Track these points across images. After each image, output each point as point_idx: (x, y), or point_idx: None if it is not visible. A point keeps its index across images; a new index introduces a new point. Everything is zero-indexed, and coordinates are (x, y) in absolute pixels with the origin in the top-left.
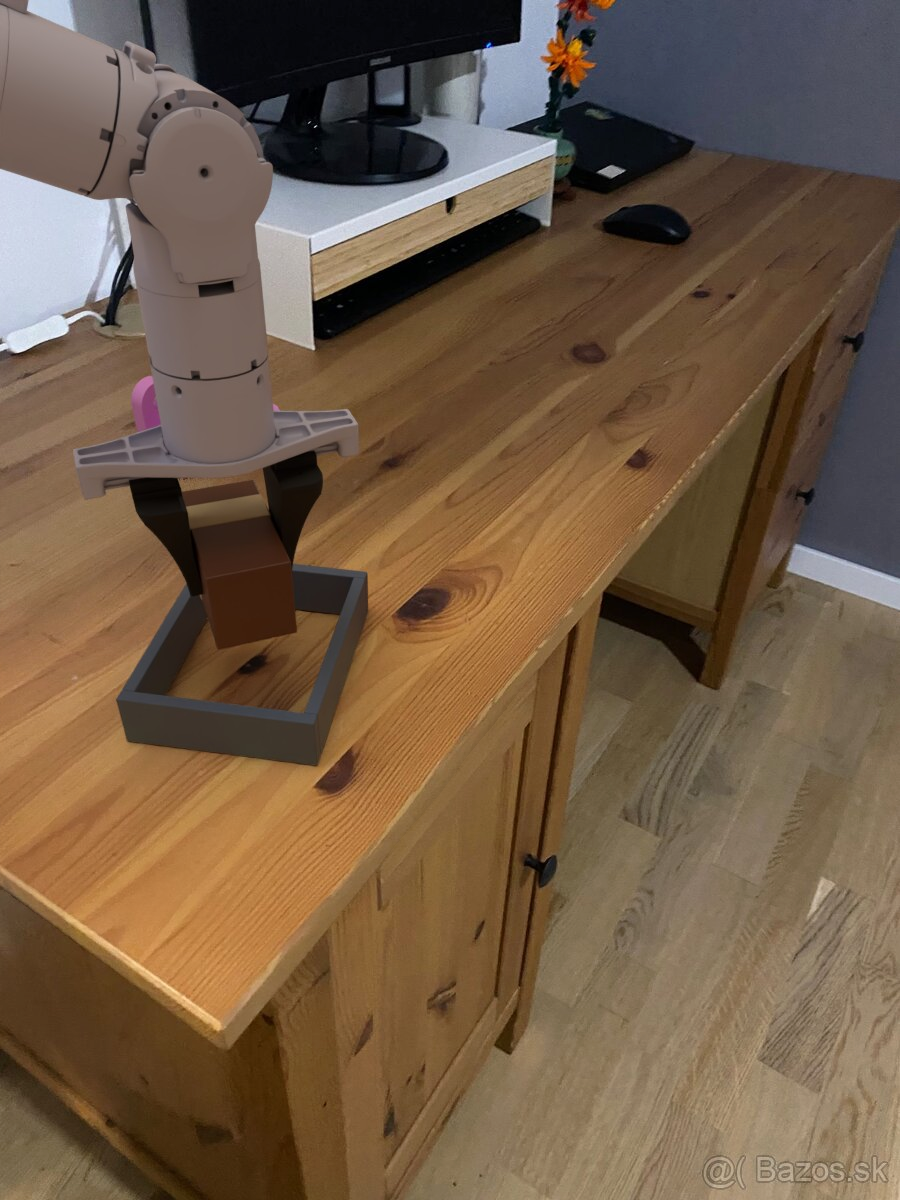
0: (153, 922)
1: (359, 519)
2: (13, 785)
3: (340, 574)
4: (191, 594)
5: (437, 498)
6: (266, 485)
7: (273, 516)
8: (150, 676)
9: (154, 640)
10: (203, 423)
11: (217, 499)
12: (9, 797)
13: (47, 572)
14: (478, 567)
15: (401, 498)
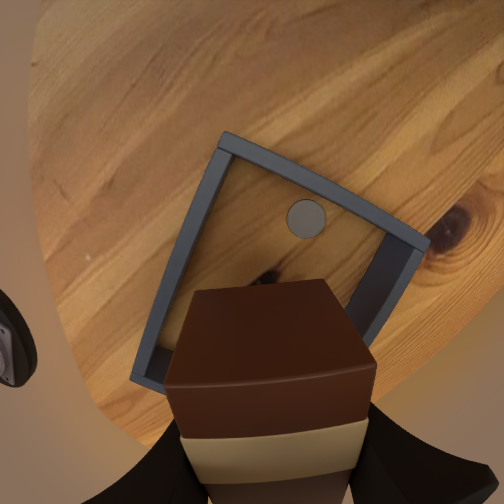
0: None
1: (424, 53)
2: (76, 359)
3: (403, 238)
4: None
5: (490, 63)
6: (380, 475)
7: (359, 460)
8: (155, 345)
9: (153, 313)
10: None
11: (264, 432)
12: (78, 367)
13: (56, 75)
14: (498, 189)
15: (463, 42)
